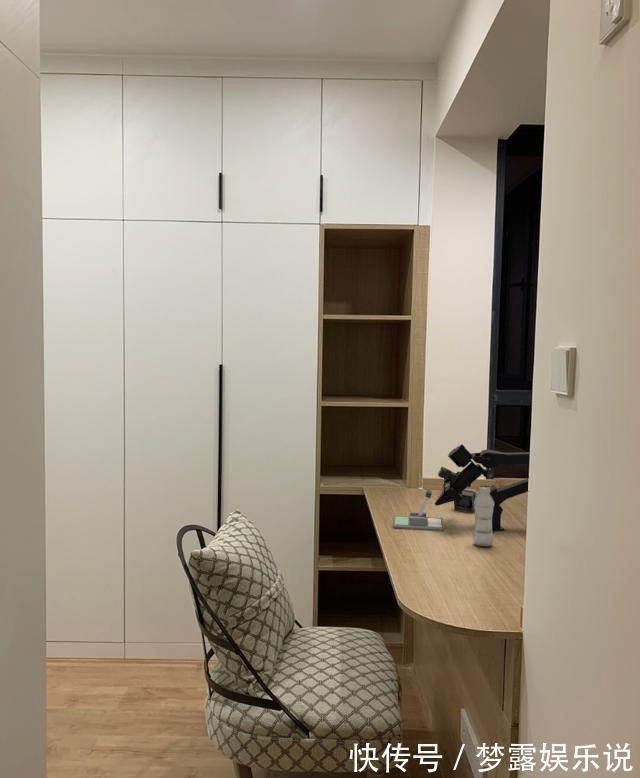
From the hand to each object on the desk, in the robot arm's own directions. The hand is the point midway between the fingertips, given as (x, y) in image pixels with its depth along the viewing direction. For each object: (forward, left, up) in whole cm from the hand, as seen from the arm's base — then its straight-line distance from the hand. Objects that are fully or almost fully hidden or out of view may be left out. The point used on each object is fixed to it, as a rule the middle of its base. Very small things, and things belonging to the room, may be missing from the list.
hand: (435, 504), depth 228 cm
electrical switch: (+16, -19, -8) cm, 26 cm away
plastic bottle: (-24, -7, -8) cm, 26 cm away
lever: (+2, +6, -6) cm, 8 cm away
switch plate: (+2, +6, -8) cm, 10 cm away
